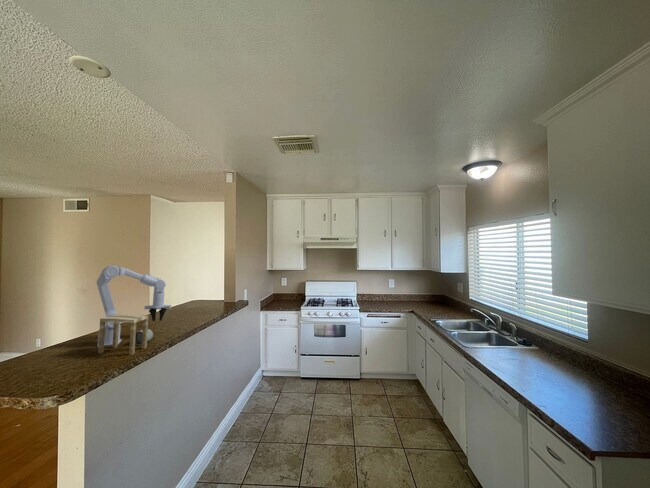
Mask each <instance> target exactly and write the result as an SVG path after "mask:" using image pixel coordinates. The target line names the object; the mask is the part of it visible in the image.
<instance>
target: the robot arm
mask: <svg viewBox="0 0 650 488" xmlns="http://www.w3.org/2000/svg"><path fill="white" fill-rule="evenodd" d="M117 276H127V277H129V278H133V279H136V280H139V281H140V284H143V285H147V286H149V287H153V293H152V294H153V295H152V296H153V297H152V298H153V299H152V305H145V306H144V310H148V312H149V314H150V317H151V320H152V322H155V321H156V316H157V310H158V312H159V322H161V321H163V318H164V315H165V313H166V311H167V310H170V309H172V305H170V304H169V305H167V304H164V303H165V288H166V285H167V284H166V282H165V281H164V280H162V279H160V278H159V277H155V276H152V274H150V273H148V274H147V273H145V274H140V273H138V272H135V271H133V270H131V269H129V268H125V267H121V266H117V265H113V264H110V265H108V266H106V267H105V268H103V270H102V271H101V273H100V274H99V277H98V278H97V281H96V286H97V289H98V293H99V296H100V299H101V302H102V306H103V309H104V314H105V317H109V316H112V315H116V314H117V311H116V307H115V304H114V301H113V297H112V294H111V290H110V287H109V282H111V280H112V279H113V278H115V277H117ZM121 327H122V324H121V322H119V333H118V345H119V344H120V343H121V342H122V340H123V339H122V338H121V329H122V328H121ZM113 329H114V322H106V325H105V340H104V347H105V346H112V344H113ZM98 343H99V332H98V334H97V345H96V346H97V347H98Z"/></svg>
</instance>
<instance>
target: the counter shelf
mask: <svg viewBox="0 0 650 488" xmlns="http://www.w3.org/2000/svg"><path fill="white" fill-rule="evenodd" d="M141 321H142V330H143V334H142V344H141V349H142V350H146V349H147V348H148V347H147V346H148V341H147V334H148V329H149V315H148V314H147V315H146V314H144V315H143V314H121V313H120V314H119V313H116V315H112V316H109V317H106V316H104V317H102V318H99V329H98V333H99V343H98V342H97V345H98V346H97V354H98V355H99V354H101V355H102V354H103V353H104V352H105V346H104V340H105V326H106V322H114V329H113V344H112V345H111V347H112V349H113V348H114V349H115V348H118V345H119V344H118V333H119V325H120V324H119V322H120V323H125V324H126V323H128V324H129V323H130V330H129V331H130V333H129V334H130V335H129V349H128V351H129V352H128V356H133V355H135V353H136V352H135V351H136V350H135V349H136V345H135V338H136V332H137V323H138V322H141Z"/></svg>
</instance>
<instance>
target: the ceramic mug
mask: <svg viewBox="0 0 650 488" xmlns="http://www.w3.org/2000/svg"><path fill="white" fill-rule="evenodd" d="M142 334H143V329H141V330H136V338H135V346H142ZM153 338H154V332H153V330H152V329H150V328H148V334H147V342H149V341H150V340H152V339H153Z"/></svg>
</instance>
